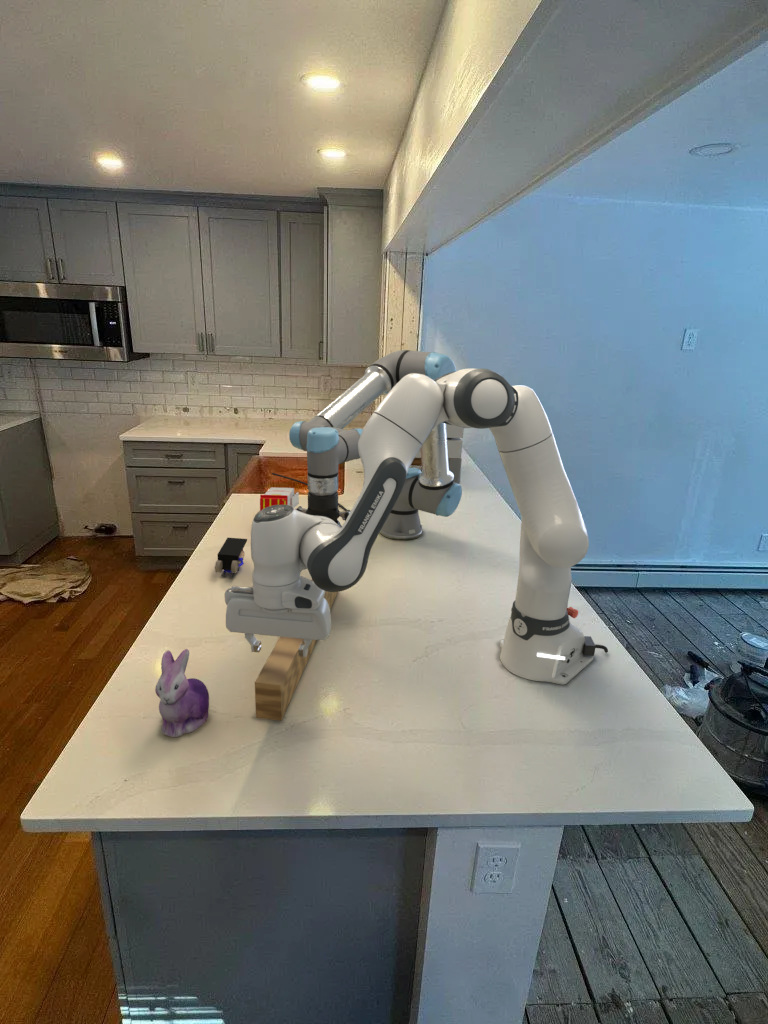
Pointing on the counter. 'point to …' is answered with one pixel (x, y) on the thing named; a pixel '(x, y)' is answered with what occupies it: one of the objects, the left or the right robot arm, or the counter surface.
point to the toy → (279, 497)
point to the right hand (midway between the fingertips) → (279, 652)
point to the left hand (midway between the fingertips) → (323, 568)
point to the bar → (282, 674)
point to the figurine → (180, 697)
